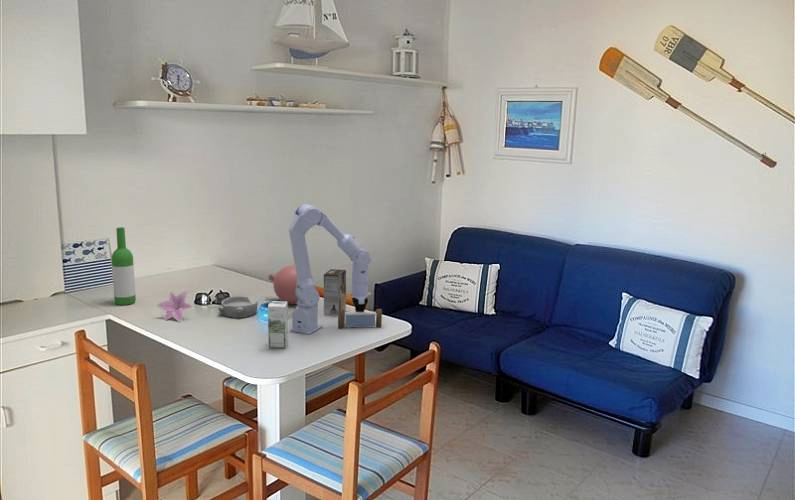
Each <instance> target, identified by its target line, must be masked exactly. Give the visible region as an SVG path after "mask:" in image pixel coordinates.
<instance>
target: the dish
mask: <svg viewBox="0 0 795 500" xmlns="http://www.w3.org/2000/svg"><path fill="white" fill-rule="evenodd" d="M217 309H218V311H219V313H221V314H222V315H223V316H225V317H228V318H237V319H238V318H241V319H242V318H249V317H252V316H254V315H255V314H256V313H257V312H258V311H257V310H258V301H257V300H256V301H255V302H253V303H252V301H251V300H250V298H249V297H248V296H246V295H236V296H228V297H227V298H224V299H223V300H222V301H221V303H220V306H219V307H218V308H217Z"/></svg>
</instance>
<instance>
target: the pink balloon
mask: <svg viewBox="0 0 795 500" xmlns="http://www.w3.org/2000/svg"><path fill="white" fill-rule="evenodd" d="M268 280H269V281H270V282H273V290H274V293H275V294H276V297H277V298H278V299H279V300H281V301H284V302H287V303H288V304H291V305H297V301H298V299H299V298H298V297H297V296H296V293H295V291H296V287H297V283H296V281H297V273H296V268H295V264H294V265H293V264H291V265H287V266H283V268H281V269H280V270H278V272H276V273H274V274H273V273H269V275H268Z"/></svg>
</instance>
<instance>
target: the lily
mask: <svg viewBox="0 0 795 500" xmlns="http://www.w3.org/2000/svg"><path fill="white" fill-rule="evenodd" d="M187 295H188V290H184V291H182V292H180V293H179V294H178V295H176V294H174V293H173V292H172V291H170V292H169V294H168V300H164V301H162V302H159V303H157V304H156V307H158V308H159V309H160V310H163V311H165V314H164V317H163V321H167V320H169V319H170V318H171V317H173V318H174V319H175V320H176V321H177V322H178V323H182V321H183V314H184V313H183V312H184V311H187V310H190V309H192V308H193V306H192V305H191V304H189V303H187V302H186V298H187Z"/></svg>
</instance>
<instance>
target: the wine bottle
mask: <svg viewBox="0 0 795 500" xmlns="http://www.w3.org/2000/svg"><path fill="white" fill-rule="evenodd" d="M125 230H126V229H125V227H122V226H121V227H116V242H117V243H116V244H117V248H116V249H115V250H114V251H113V252H112V254H111V269H112V285H113V298H114V299H113V300H114V303H115V305H119V306H128V305H132V304H134V303H135V302H136V300H137V296H136V285H135V284H136V283H135V267H134V266H135V265H134V264H135V263H134V255H133V253H132V251H131V250H129V249H128V247H127V244H126V243H127V242H126V231H125Z"/></svg>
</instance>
